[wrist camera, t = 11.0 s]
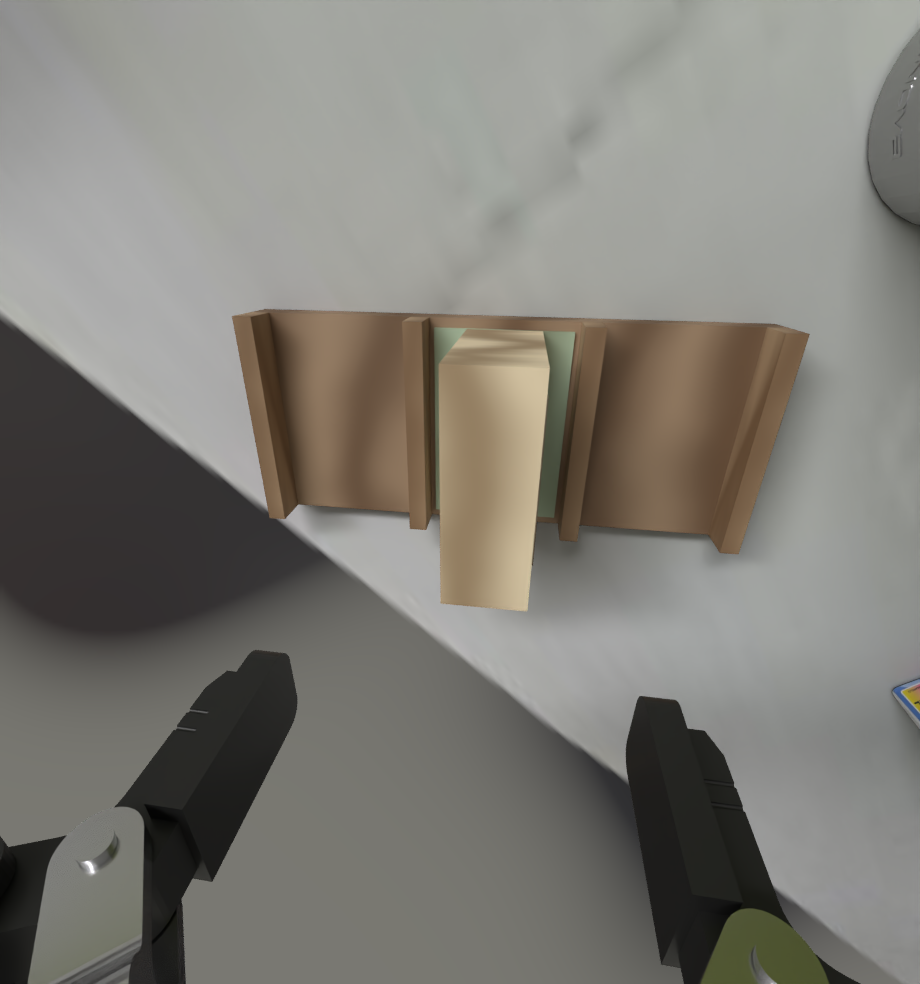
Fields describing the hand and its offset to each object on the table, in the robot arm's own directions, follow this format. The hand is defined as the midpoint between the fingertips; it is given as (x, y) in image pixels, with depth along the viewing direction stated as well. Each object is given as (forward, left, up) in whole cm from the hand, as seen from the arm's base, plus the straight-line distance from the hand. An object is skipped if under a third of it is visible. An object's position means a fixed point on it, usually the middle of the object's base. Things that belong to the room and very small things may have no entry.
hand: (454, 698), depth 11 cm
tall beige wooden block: (0, 0, -19) cm, 19 cm away
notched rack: (0, 0, -21) cm, 21 cm away
